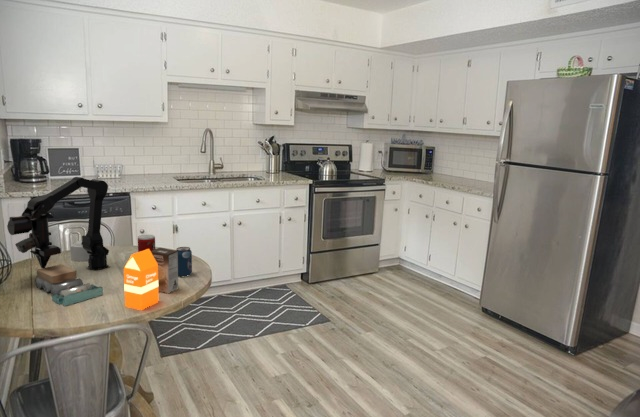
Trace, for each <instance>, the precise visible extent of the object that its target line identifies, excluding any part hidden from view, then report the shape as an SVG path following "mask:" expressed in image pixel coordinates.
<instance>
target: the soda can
mask: <svg viewBox="0 0 640 417" xmlns="http://www.w3.org/2000/svg"><path fill="white" fill-rule="evenodd" d="M175 250H176V251H178V277H179V276H187V275H190V276H191V274H192V273H193V267H192V266H193V262H192V261H193V258H192V255H193V254H192V253H193V252H192V250H191V247H190V246H179V247H176V249H175ZM187 277H188V276H187Z"/></svg>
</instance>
